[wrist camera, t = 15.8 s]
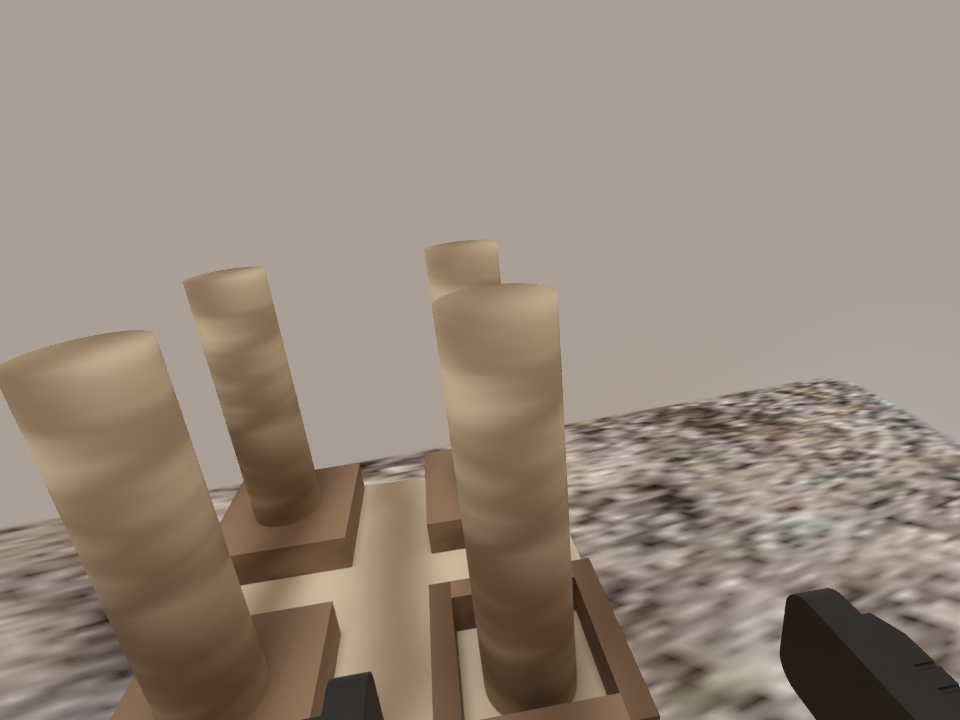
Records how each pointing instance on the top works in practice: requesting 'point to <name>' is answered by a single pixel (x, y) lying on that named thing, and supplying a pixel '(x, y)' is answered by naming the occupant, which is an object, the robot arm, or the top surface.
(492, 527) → the stool leg
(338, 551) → the stool seat
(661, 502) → the top surface
